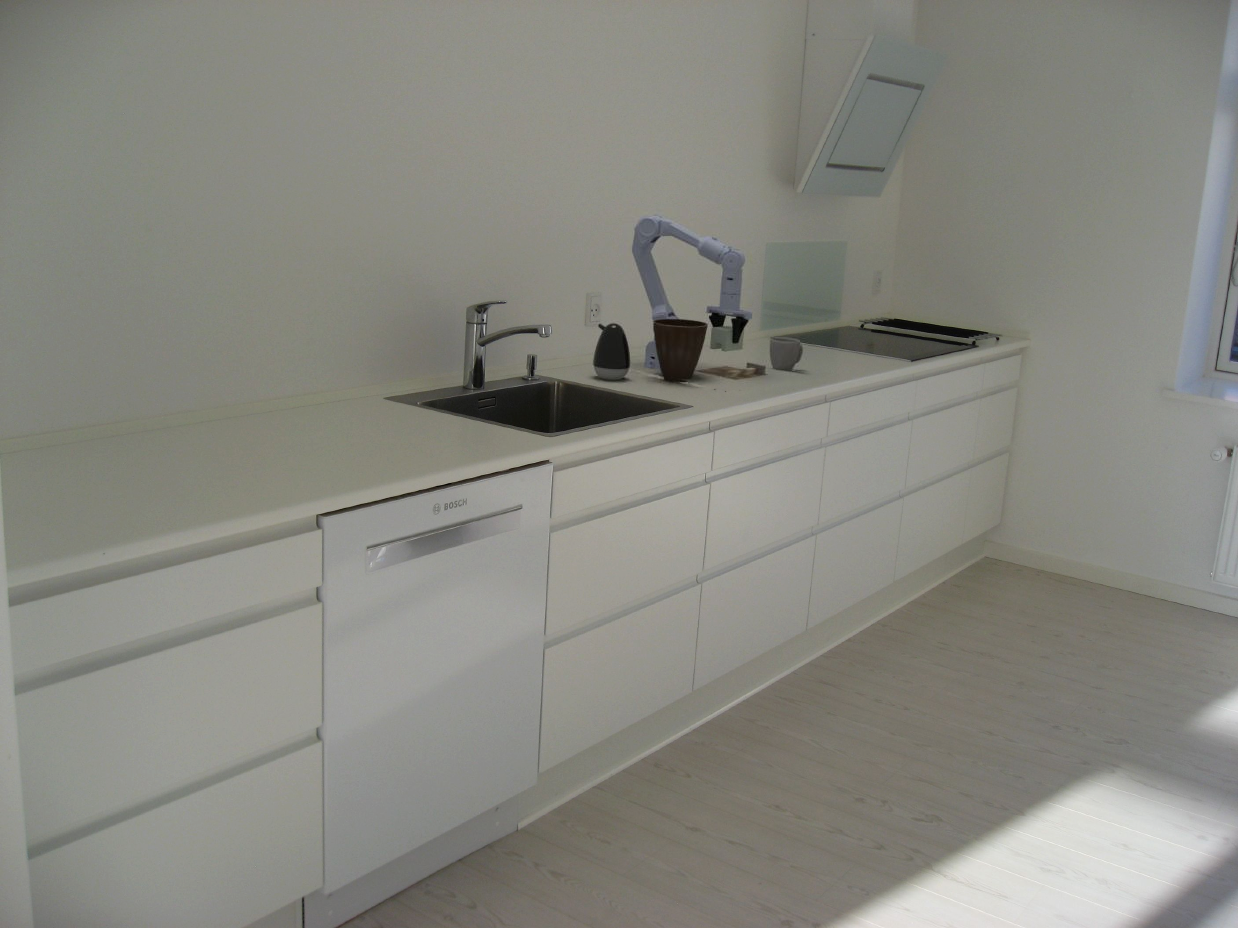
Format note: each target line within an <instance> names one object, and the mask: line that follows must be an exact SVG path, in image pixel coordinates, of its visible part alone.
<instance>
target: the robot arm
mask: <svg viewBox="0 0 1238 928" xmlns="http://www.w3.org/2000/svg"><path fill="white" fill-rule="evenodd" d="M633 230H634V235H633V241H632V245H631V253H632V256H633V259H634V262H635V264H636V268H637V269H638V274H639V276H640V279H641V282H642V284H643V287H644V290H645V293H646V296H647V299H648V302H649V304H650V307H651V319H652V321H654V320H658V319H680V318H679V317H678V315H676V313H675V310H674V308H673V307H672V305H670V303H669V300H668V298H667V294H666V292H665V288H664V285H663V283H662V280H661V277H660V274H659V271H658V268H657V265H656V261H655V259H654V257H653V254H652V249H653V248H654V246H655V244H656V242H657V241H658V240H659V239H660V238H661V237H673V238H676V239H677V240H679V241H682V242H684V243H685V244H688V245H690V246H692V247H694V248H696V249H697V252H698V255H700V256H701V257H703V258H705V259H707V260H709V261H710V262H712V263H715V264H716V265H719V266H720V265H721V268H722V272H721V273H722V275H721V282H720V295H719V304H718V306H716V305H715V306H714V305H707V306H706V312H705V313H706V314H709V315H708V319H709V321H710V324H711V326H712V327H722V326H725V321H726V318H727V317H730V318H731V317H732V318H731V319H730V321H731V326H732V328H733V334H732V343H734V344H735V343H739V340H740V337H741V334H742V332H743V329H744V330H745V328H746V326H747V324H748V323H749V320H752V319H753V312H752V311H747V310H743V309H740V308H741V307H740V306H741V296H742V295H741V294H742V283H743V267H744V265H745V263H746V258H745V254H744V253H743V252H742V251H741V250H740V249H737V248H734V249H733V246H732V245H731V244H728V245H726V243H725V244H724V243H723V242H721V241H719V240H718V237H716V236H714V235H713V236H708V235H707V236H704V237H702V236H700V235H698V234H697V233H695V232H693V231H691V230H689V229H687V228H686V227H684V226H682V225H681V224H679V223H677V222H676V221H673V220H671V219H668V218H665V217H663V216H662V215H658V214H653V215H644V216H642V217H641V218H640V219H639V220H638V222H637V223H636V225H635V226H634V228H633ZM710 314H711V315H710ZM652 331H653V333H654V326H653V325H652ZM644 367H646V368H650V369H652V370H654V369H655V370H658V371H661V368H660V364H659V360H658V356H657V350H656V344H655V337H654V336H653V340H651V341H649V342H648V343H647V345H646V347H645V355H644Z"/></svg>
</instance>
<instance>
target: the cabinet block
mask: <svg viewBox="0 0 1238 928" xmlns="http://www.w3.org/2000/svg"><path fill="white" fill-rule="evenodd" d="M744 331H745V328H744V329H743V332H742V334H741V337H740V340H739V343H735V344H734V343H732V334H733V328H732V325H723V326H722V327H713V326H712V327H711V331H710V332H711V333H710V343H709V350H720V349H721V352H732V351H738V350H739V351H740V350H743V346H744V334H745V333H744Z"/></svg>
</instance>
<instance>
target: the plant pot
mask: <svg viewBox="0 0 1238 928" xmlns="http://www.w3.org/2000/svg"><path fill="white" fill-rule="evenodd" d="M652 321H653V320H652ZM652 324H653V325H652V327H653V326H654V332H653V334H654V335H653V338H654V337H655V344H656V350H657V356H658V360H659V364H660V368H661V370H660V371H661V376H662V378H663V380H664V381H667V382H672V383H687V382H688V381H686V380H689V379H692V377H693V375H694V372H696V369H697V365H698V363H699V360H700V357H701V355H702V350H703V347H704V343H705V339H706V336H707V335H706V334H707V330H708V325H709V324H708V323H707V322H705V321H704V322H703V321H700V320H694V319H686V318H685V319H684V318H679V319H658V320H654V321H653V323H652Z"/></svg>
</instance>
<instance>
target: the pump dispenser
mask: <svg viewBox="0 0 1238 928" xmlns="http://www.w3.org/2000/svg"><path fill="white" fill-rule="evenodd" d="M597 327H598V328H599V329H601V332H600V335H599V337H598V340H597V343H596V346H595V350H594V353H593V358H592V359H593V360H592V365H593V369H594V372H595V374H596V375H597V377H599V378H601V379H602V380H606V381H619V380H621V379H623V378H624V377H626V375H627V374H628V373H629V369H630V368H631V352H630V348H629V347H630V346H629V342H628V338H627V335H626V332H625V330H624V329H623V326H621V325H620V324H618V323H615V322H611V323H609V324H607V325H606V326H605V325H604V324H602V323H598V324H597Z"/></svg>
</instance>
